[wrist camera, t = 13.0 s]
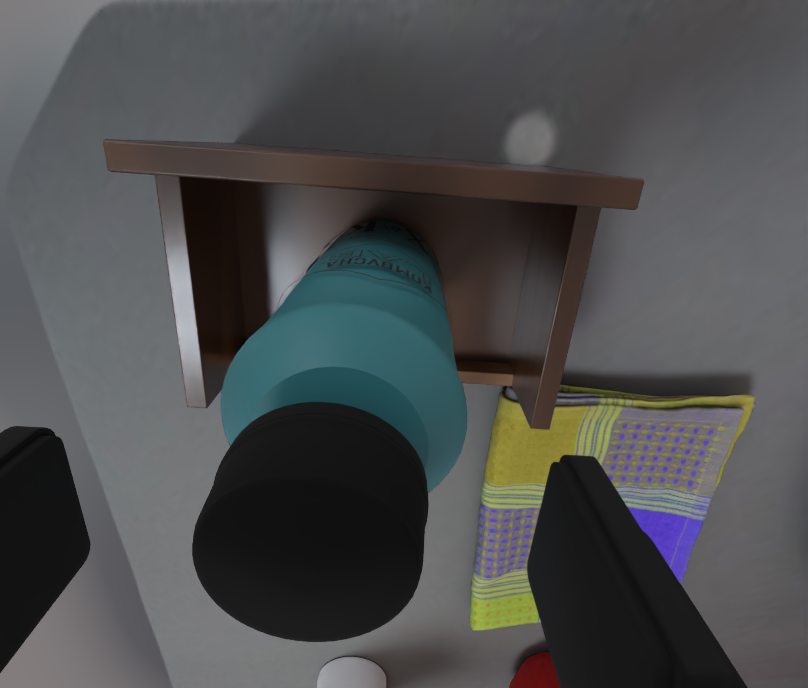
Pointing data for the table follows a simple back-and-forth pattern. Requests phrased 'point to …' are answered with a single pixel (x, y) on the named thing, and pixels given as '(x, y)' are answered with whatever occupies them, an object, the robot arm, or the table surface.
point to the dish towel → (624, 465)
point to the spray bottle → (351, 674)
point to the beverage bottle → (335, 444)
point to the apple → (536, 673)
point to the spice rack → (367, 199)
